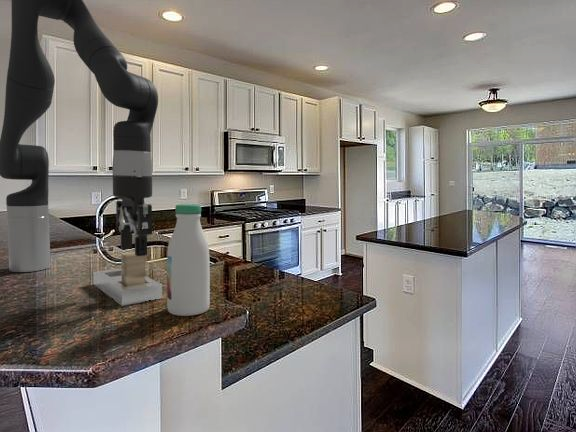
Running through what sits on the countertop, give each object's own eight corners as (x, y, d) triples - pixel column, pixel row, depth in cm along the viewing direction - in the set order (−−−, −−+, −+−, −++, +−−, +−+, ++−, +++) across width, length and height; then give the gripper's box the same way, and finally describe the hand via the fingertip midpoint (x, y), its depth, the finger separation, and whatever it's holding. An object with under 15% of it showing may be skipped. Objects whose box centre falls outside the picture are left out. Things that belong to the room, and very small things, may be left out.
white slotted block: (93, 284, 88) (93, 271, 87) (129, 279, 93) (128, 267, 93) (121, 306, 73) (121, 290, 72) (162, 298, 78) (161, 284, 78)
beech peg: (121, 296, 79) (121, 253, 78) (139, 293, 82) (138, 252, 81) (128, 300, 77) (127, 256, 76) (145, 296, 79) (145, 254, 78)
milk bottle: (217, 306, 74) (217, 204, 72) (194, 319, 66) (194, 206, 65) (183, 301, 76) (182, 203, 74) (158, 313, 69) (157, 204, 67)
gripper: (102, 173, 80) (104, 248, 81) (125, 173, 69) (126, 260, 71) (138, 174, 85) (139, 245, 86) (164, 174, 74) (165, 255, 76)
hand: (133, 252), depth 79 cm, fingers open, 8 cm apart
